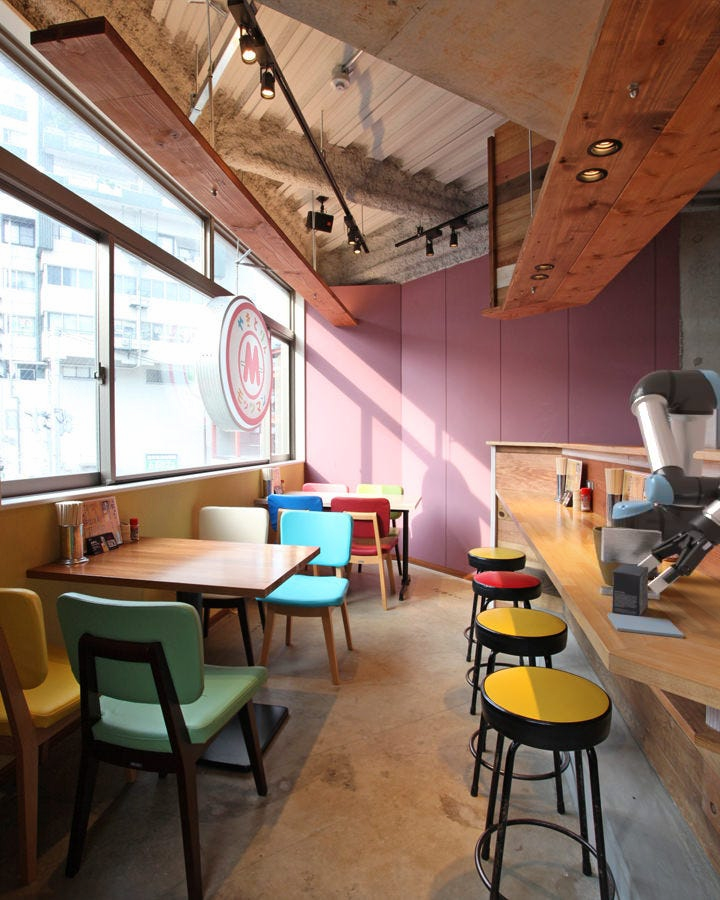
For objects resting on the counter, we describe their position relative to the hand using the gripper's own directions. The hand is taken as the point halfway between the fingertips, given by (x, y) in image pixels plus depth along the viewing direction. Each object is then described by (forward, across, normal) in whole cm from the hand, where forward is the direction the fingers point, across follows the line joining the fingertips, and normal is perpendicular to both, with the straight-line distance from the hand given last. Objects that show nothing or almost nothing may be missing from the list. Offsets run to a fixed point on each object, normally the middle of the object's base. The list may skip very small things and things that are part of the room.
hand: (643, 582), depth 122 cm
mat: (+7, -10, -4) cm, 13 cm away
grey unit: (+5, +15, -6) cm, 17 cm away
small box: (+7, +1, -4) cm, 8 cm away
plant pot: (+5, +26, -6) cm, 27 cm away
